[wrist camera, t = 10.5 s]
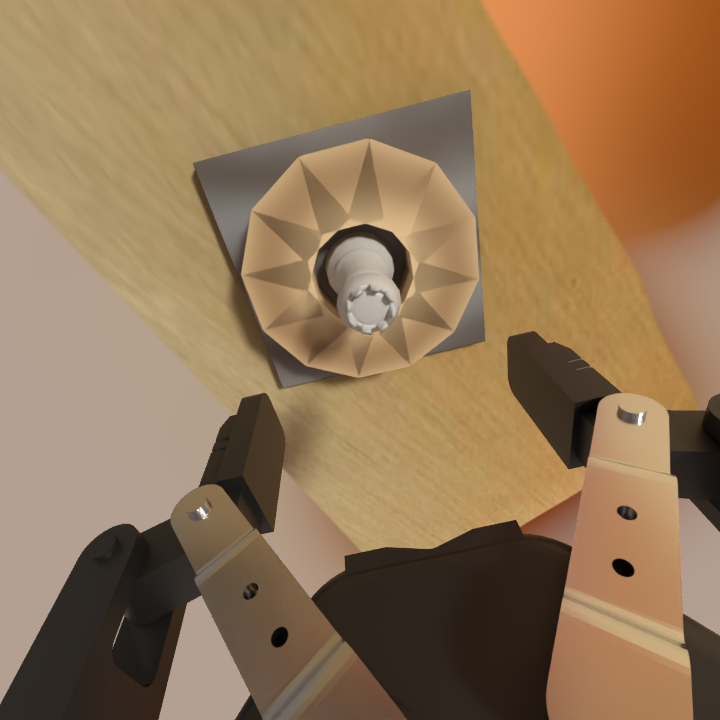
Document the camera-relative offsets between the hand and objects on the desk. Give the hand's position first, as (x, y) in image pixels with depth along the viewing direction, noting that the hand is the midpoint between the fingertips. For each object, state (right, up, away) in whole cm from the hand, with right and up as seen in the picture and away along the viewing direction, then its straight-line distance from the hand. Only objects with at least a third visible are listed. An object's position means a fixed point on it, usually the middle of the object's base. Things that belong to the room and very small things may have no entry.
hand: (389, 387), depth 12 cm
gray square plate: (-1, +8, +13) cm, 16 cm away
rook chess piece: (-1, +7, +13) cm, 15 cm away
